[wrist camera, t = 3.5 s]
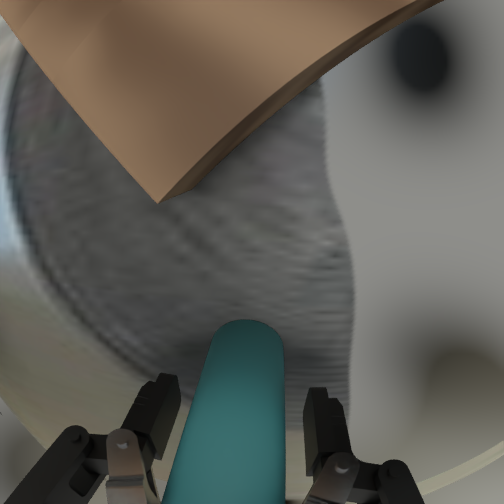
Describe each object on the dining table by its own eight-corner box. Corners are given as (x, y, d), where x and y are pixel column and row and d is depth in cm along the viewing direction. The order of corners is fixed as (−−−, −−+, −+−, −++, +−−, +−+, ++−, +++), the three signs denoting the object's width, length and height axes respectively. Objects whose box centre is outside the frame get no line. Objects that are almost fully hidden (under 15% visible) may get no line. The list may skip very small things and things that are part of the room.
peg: (245, 383, 16) (224, 536, 6) (197, 344, 15) (138, 504, 6) (298, 352, 15) (309, 526, 5) (249, 306, 14) (216, 500, 5)
